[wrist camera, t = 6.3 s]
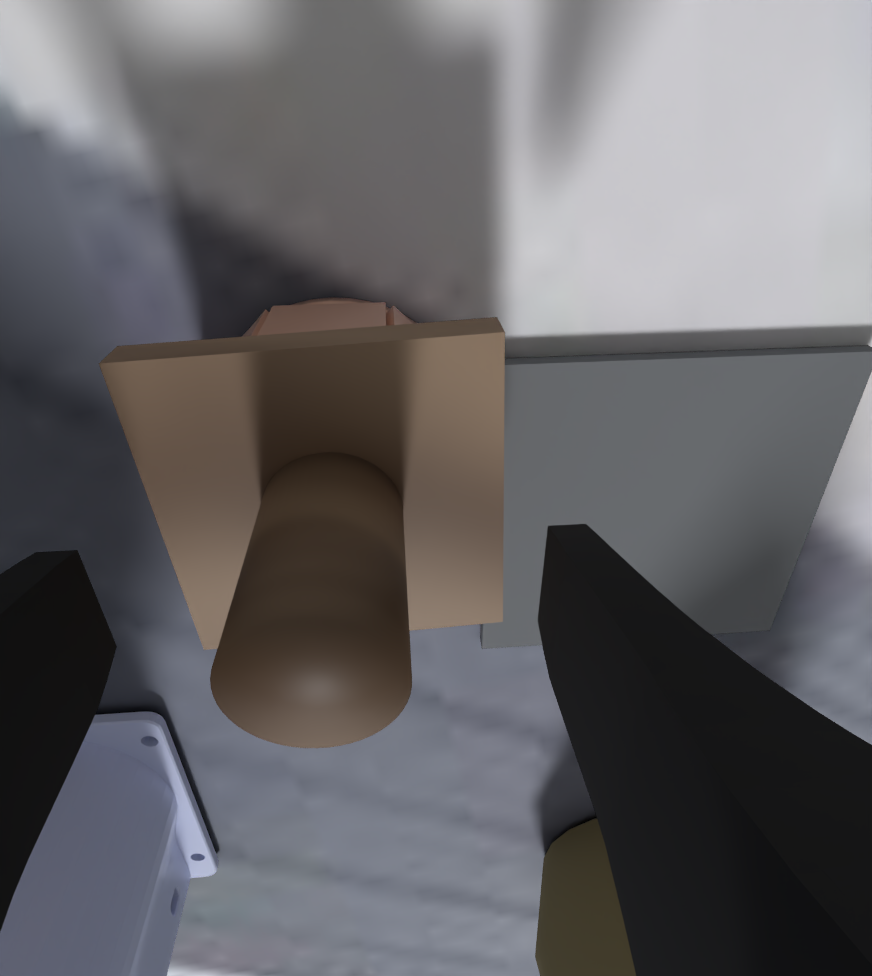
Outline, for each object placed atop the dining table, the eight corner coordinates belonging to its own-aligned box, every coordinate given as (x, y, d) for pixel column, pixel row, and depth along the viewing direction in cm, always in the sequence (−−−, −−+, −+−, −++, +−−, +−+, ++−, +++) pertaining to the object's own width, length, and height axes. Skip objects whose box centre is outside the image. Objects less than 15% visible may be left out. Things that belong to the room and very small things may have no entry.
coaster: (763, 621, 19) (770, 630, 19) (480, 638, 19) (482, 648, 19) (867, 345, 15) (879, 351, 14) (491, 359, 14) (494, 365, 14)
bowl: (466, 520, 16) (481, 597, 14) (239, 532, 16) (212, 612, 14) (471, 293, 13) (492, 339, 11) (187, 301, 13) (139, 351, 10)
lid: (496, 596, 14) (543, 799, 10) (212, 622, 14) (142, 841, 10) (496, 317, 10) (569, 453, 6) (117, 346, 10) (-55, 506, 6)
